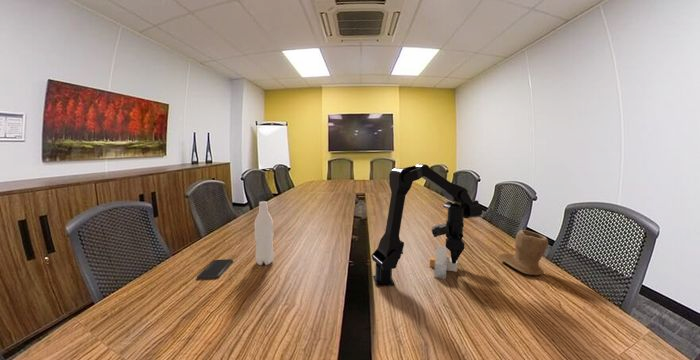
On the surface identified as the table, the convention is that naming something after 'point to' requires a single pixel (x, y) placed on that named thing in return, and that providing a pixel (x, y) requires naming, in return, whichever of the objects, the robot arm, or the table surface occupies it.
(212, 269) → the phone
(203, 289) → the table surface
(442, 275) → the housing
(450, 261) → the plug
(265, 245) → the water bottle
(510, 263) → the brown hat
